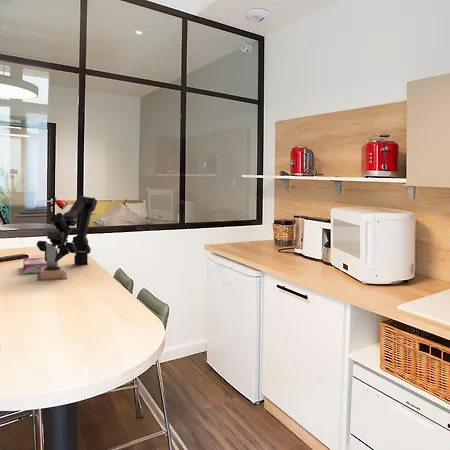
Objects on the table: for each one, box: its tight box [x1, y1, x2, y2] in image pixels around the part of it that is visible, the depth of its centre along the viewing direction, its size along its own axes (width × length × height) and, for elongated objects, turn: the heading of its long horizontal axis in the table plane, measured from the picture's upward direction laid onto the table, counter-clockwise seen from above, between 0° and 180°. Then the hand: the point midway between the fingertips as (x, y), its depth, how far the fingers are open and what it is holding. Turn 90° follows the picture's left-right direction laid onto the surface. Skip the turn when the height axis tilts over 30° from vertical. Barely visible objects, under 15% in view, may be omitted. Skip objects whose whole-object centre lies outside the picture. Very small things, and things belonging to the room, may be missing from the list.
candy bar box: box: [22, 257, 47, 274], centre depth 205 cm, size 11×5×16 cm
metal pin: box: [46, 245, 59, 271], centre depth 192 cm, size 5×5×14 cm
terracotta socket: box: [36, 265, 68, 281], centre depth 193 cm, size 13×13×4 cm
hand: (50, 261), depth 191 cm, fingers closed on metal pin, 5 cm apart
